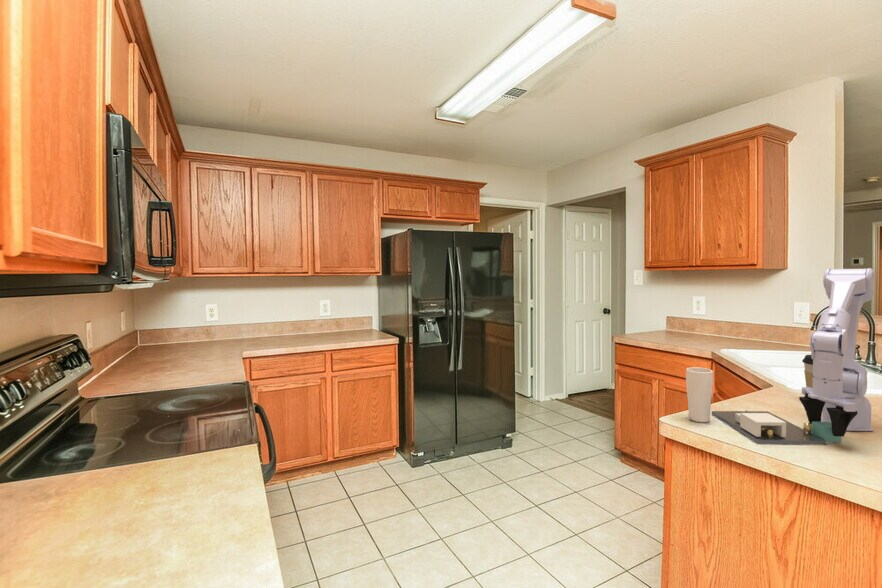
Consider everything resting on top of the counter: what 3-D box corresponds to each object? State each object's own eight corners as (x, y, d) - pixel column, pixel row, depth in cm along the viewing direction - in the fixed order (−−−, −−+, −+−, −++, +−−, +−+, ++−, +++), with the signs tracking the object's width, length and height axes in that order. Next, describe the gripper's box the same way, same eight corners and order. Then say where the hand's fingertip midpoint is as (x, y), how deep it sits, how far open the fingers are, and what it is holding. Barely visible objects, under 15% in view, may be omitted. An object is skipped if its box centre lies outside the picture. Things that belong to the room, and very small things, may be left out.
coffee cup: (838, 401, 138) (839, 355, 137) (846, 410, 130) (847, 361, 129) (798, 397, 144) (799, 353, 143) (804, 405, 135) (805, 358, 134)
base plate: (767, 414, 128) (767, 403, 128) (826, 444, 106) (826, 431, 106) (711, 414, 130) (711, 403, 129) (757, 443, 108) (758, 430, 108)
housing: (755, 420, 120) (756, 407, 120) (785, 437, 108) (786, 422, 108) (729, 420, 121) (729, 407, 121) (756, 436, 109) (756, 422, 109)
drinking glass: (716, 424, 121) (717, 372, 120) (690, 423, 123) (691, 372, 122) (707, 416, 128) (707, 367, 127) (682, 415, 129) (682, 366, 128)
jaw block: (828, 436, 111) (828, 421, 111) (840, 443, 107) (841, 427, 107) (811, 436, 112) (811, 421, 111) (823, 442, 108) (824, 427, 107)
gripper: (790, 371, 116) (789, 420, 117) (833, 385, 102) (832, 441, 102) (818, 371, 115) (816, 420, 116) (866, 385, 101) (864, 441, 102)
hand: (826, 430), depth 109 cm, fingers open, 7 cm apart
